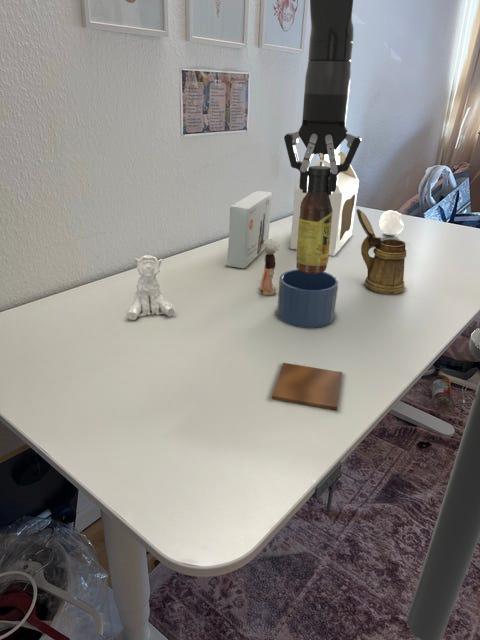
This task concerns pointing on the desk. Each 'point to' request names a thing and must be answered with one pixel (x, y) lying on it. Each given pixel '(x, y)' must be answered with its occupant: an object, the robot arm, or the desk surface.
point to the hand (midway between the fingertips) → (317, 192)
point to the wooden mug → (382, 260)
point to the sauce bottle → (315, 223)
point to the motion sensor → (391, 223)
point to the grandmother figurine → (269, 267)
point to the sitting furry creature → (148, 290)
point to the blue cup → (307, 298)
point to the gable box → (340, 201)
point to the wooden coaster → (308, 386)
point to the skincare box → (248, 228)
